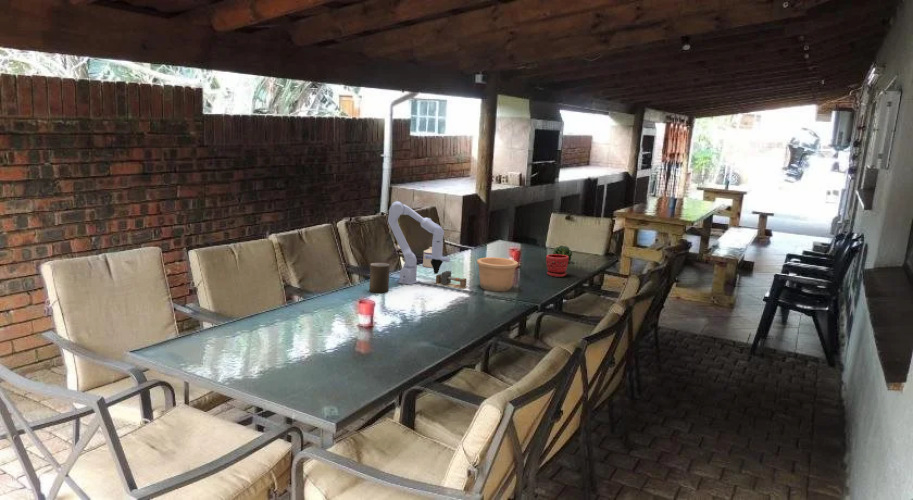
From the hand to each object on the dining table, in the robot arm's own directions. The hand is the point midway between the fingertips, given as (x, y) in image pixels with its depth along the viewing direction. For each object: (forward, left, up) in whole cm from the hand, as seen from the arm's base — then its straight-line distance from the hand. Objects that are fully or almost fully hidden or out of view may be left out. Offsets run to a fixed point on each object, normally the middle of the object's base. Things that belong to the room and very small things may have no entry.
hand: (436, 273), depth 354 cm
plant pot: (+64, -46, -6) cm, 79 cm away
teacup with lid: (+37, +24, -5) cm, 44 cm away
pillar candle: (-34, +14, -5) cm, 37 cm away
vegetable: (+102, -37, -6) cm, 109 cm away
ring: (0, -6, -5) cm, 8 cm away
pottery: (+12, -30, -6) cm, 33 cm away
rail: (0, -9, -5) cm, 11 cm away
